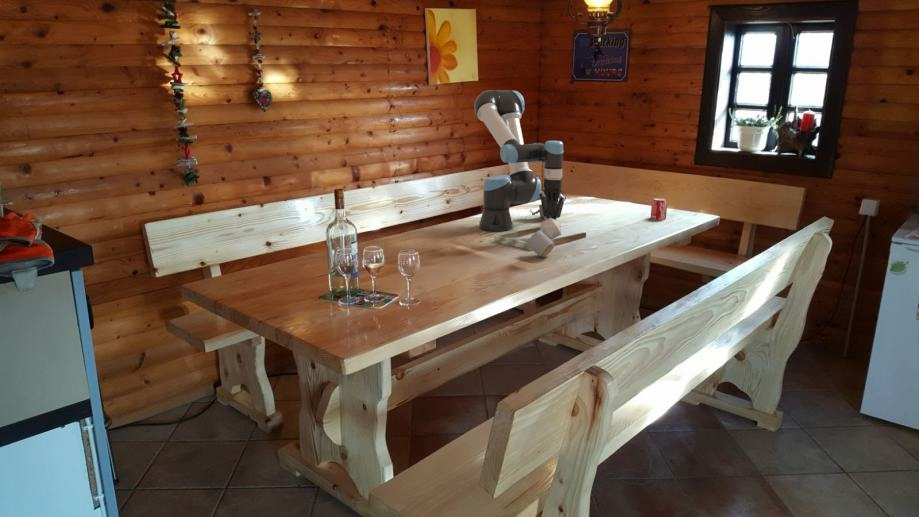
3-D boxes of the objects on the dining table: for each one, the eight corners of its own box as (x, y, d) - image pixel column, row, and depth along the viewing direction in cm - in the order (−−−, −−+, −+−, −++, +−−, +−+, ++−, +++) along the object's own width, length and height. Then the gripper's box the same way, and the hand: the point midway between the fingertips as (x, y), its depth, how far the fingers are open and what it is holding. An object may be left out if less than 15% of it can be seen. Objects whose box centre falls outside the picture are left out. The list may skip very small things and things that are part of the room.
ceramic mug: (540, 262, 252) (546, 249, 246) (524, 248, 255) (529, 235, 249) (557, 248, 258) (563, 235, 252) (541, 235, 261) (546, 222, 255)
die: (565, 238, 284) (564, 216, 280) (553, 245, 278) (552, 223, 274) (548, 234, 289) (548, 212, 285) (536, 241, 283) (535, 219, 279)
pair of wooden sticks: (493, 241, 279) (494, 235, 278) (546, 230, 302) (547, 225, 301) (533, 250, 264) (533, 244, 263) (585, 238, 287) (586, 232, 286)
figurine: (541, 220, 327) (542, 189, 324) (560, 223, 319) (561, 191, 315) (529, 222, 321) (530, 191, 317) (548, 225, 313) (549, 193, 309)
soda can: (667, 223, 320) (669, 198, 317) (663, 226, 314) (665, 200, 311) (652, 222, 324) (654, 197, 321) (648, 224, 318) (650, 199, 315)
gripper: (535, 177, 283) (533, 232, 290) (559, 181, 274) (557, 237, 281) (546, 175, 288) (544, 229, 295) (570, 179, 279) (568, 234, 286)
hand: (551, 233), depth 288 cm, fingers closed
